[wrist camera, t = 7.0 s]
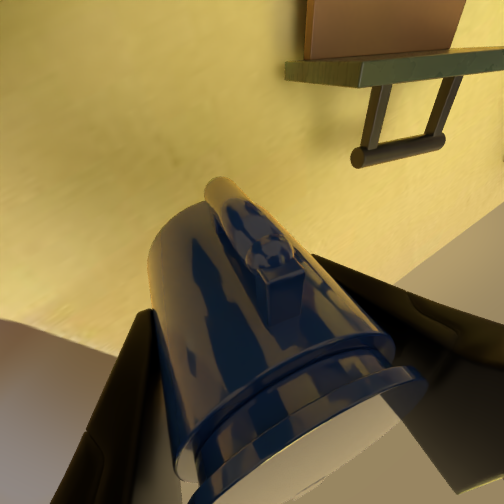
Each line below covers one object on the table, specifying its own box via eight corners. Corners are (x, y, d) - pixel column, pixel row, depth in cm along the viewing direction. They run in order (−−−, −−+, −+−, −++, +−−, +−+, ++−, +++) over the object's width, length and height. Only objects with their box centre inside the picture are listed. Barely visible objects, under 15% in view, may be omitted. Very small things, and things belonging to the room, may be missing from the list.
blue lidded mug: (279, 294, 13) (382, 445, 8) (173, 334, 12) (216, 550, 7) (281, 140, 8) (541, 266, 3) (102, 174, 7) (46, 512, 2)
